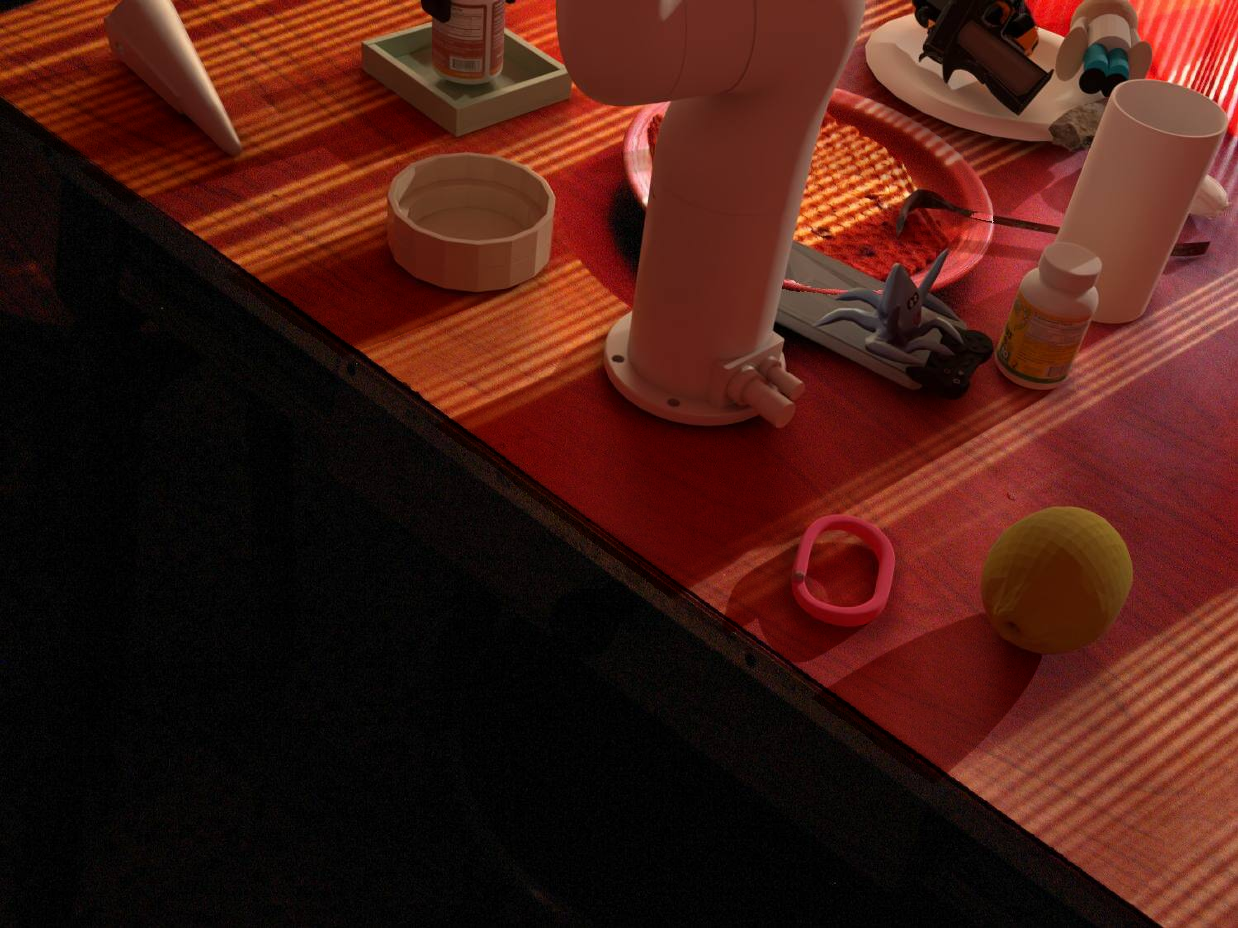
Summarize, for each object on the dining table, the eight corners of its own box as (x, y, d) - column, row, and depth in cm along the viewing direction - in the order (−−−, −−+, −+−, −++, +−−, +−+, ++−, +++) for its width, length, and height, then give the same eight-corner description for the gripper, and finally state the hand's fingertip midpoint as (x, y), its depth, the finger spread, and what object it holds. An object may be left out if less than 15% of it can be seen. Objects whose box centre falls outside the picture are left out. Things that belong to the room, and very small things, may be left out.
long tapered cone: (295, 97, 109) (168, -20, 117) (224, 128, 106) (98, 5, 114) (302, 154, 114) (180, 37, 122) (234, 185, 111) (113, 63, 119)
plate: (849, 121, 124) (853, 104, 123) (872, 6, 142) (876, -10, 141) (1129, 179, 122) (1136, 162, 121) (1117, 54, 140) (1122, 39, 139)
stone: (1107, 106, 128) (1110, 76, 126) (1157, 115, 125) (1160, 85, 123) (1031, 155, 121) (1033, 123, 119) (1082, 166, 118) (1084, 134, 116)
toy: (1070, 37, 123) (1070, -28, 134) (1048, 98, 127) (1049, 30, 138) (1165, 59, 122) (1157, -8, 133) (1139, 119, 127) (1133, 49, 137)
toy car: (1113, 151, 125) (1126, 117, 122) (1234, 211, 119) (1249, 177, 117) (1084, 169, 122) (1097, 135, 120) (1206, 232, 117) (1221, 197, 114)
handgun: (1117, -51, 127) (995, -95, 130) (1030, 110, 122) (906, 61, 125) (1111, -33, 129) (991, -76, 132) (1026, 126, 125) (904, 78, 128)
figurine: (832, 301, 102) (871, 208, 98) (983, 371, 100) (1030, 279, 96) (794, 349, 95) (835, 251, 90) (956, 426, 92) (1006, 329, 88)
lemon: (1034, 548, 87) (1077, 455, 81) (1137, 628, 83) (1189, 536, 77) (920, 624, 81) (958, 529, 76) (1025, 713, 77) (1072, 620, 72)
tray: (570, 98, 122) (573, 71, 120) (455, 137, 115) (456, 109, 113) (475, 35, 129) (476, 9, 127) (361, 69, 122) (361, 41, 120)
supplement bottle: (1058, 401, 98) (1105, 291, 91) (985, 376, 99) (1026, 265, 92) (1072, 360, 101) (1118, 251, 95) (1001, 336, 103) (1042, 227, 96)
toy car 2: (903, 66, 129) (906, 90, 132) (1038, 58, 126) (1037, 84, 129) (912, -27, 135) (914, -1, 138) (1041, -36, 131) (1041, -10, 134)
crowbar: (902, 213, 109) (899, 180, 113) (894, 237, 111) (892, 204, 115) (1225, 268, 109) (1212, 233, 113) (1212, 291, 111) (1200, 256, 115)
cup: (1146, 275, 111) (1226, 94, 100) (1146, 334, 105) (1232, 148, 94) (1043, 251, 112) (1112, 69, 101) (1038, 308, 106) (1110, 121, 95)
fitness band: (806, 517, 86) (810, 500, 85) (897, 543, 86) (903, 526, 85) (780, 612, 81) (785, 595, 80) (878, 640, 80) (885, 623, 79)
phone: (728, 284, 102) (726, 298, 103) (921, 381, 96) (916, 394, 97) (786, 235, 107) (783, 249, 107) (973, 324, 101) (968, 338, 101)
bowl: (583, 260, 104) (588, 210, 101) (455, 316, 98) (456, 263, 95) (484, 187, 110) (486, 137, 107) (357, 234, 104) (355, 182, 100)
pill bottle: (475, 47, 124) (480, -76, 117) (516, 77, 121) (523, -47, 113) (417, 62, 121) (418, -63, 113) (457, 93, 118) (461, -33, 110)
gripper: (412, -186, 98) (411, 50, 110) (594, -219, 107) (575, 1, 120) (351, -219, 102) (357, 12, 114) (533, -249, 111) (520, -32, 123)
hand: (469, 5), depth 117 cm, fingers closed on pill bottle, 6 cm apart
